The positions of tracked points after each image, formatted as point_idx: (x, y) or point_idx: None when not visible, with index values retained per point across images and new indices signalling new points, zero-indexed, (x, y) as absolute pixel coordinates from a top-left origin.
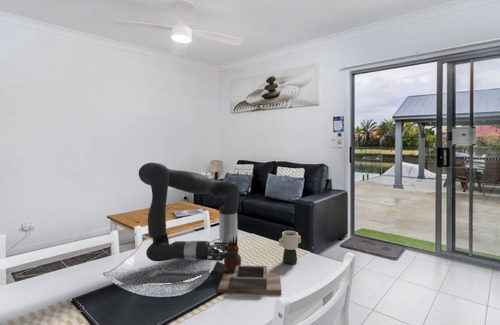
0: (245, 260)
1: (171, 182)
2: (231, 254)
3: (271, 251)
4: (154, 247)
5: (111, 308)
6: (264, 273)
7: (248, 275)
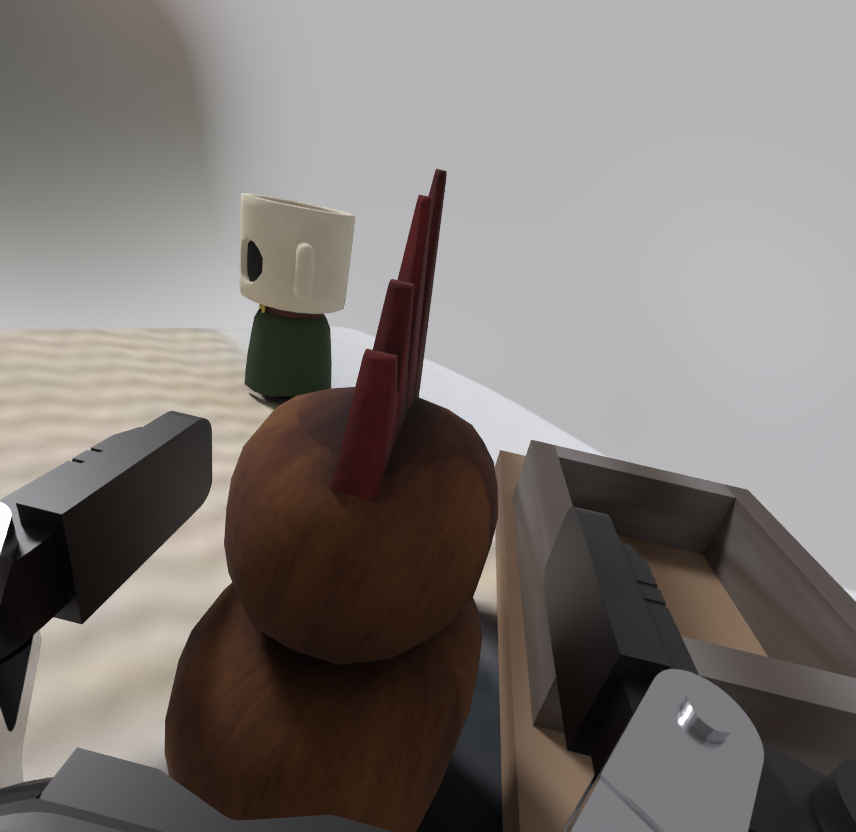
0: None
1: None
2: (649, 571)
3: (40, 389)
4: None
5: None
6: (663, 477)
7: None
